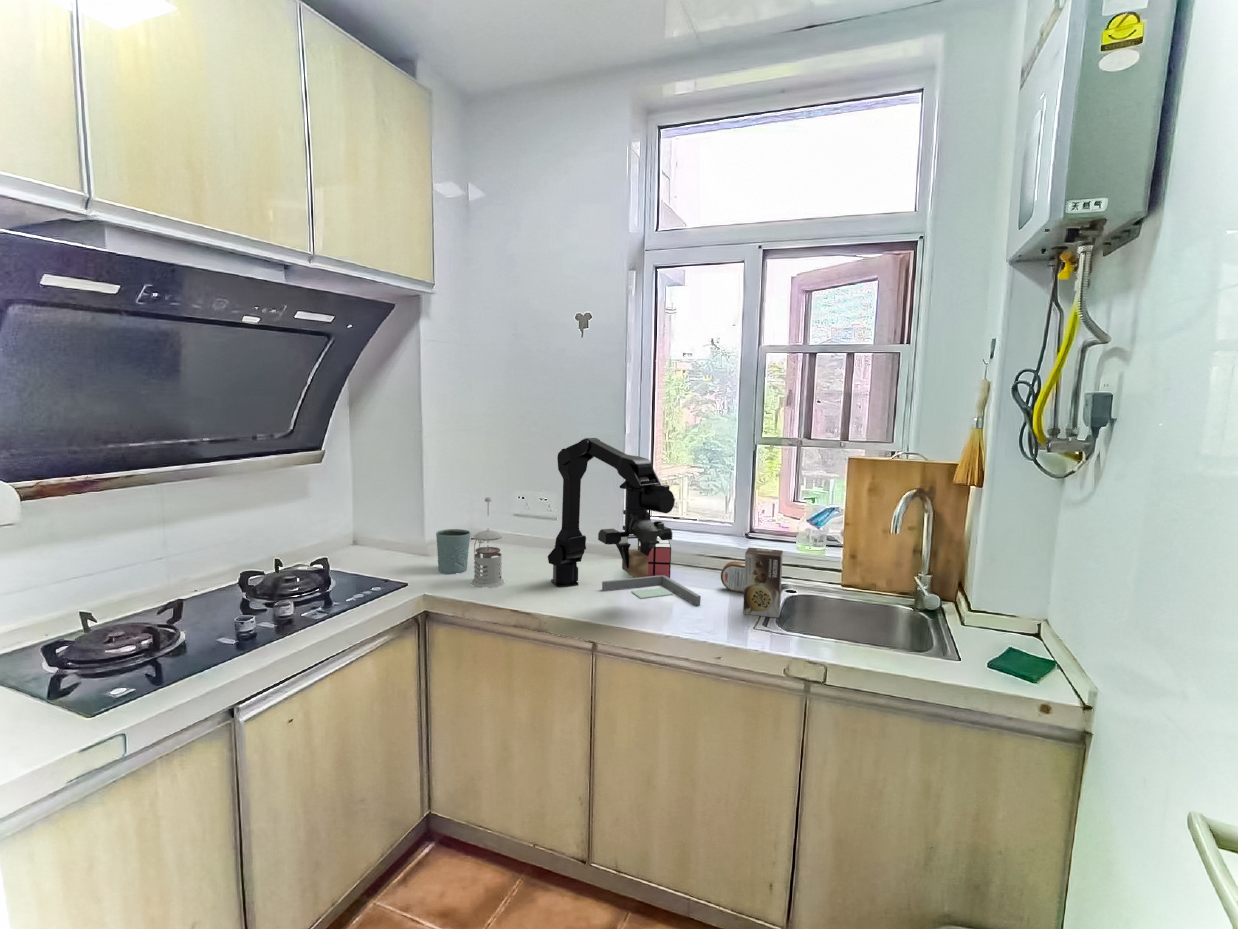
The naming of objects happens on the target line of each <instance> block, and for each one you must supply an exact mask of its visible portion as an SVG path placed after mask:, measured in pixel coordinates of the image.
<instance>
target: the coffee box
mask: <svg viewBox="0 0 1238 929" xmlns="http://www.w3.org/2000/svg"><path fill="white" fill-rule="evenodd" d="M783 552H784V551H783V550H780V549H769V548H758V547H748V548H747V549H746V551H745V553H744V563H745V578H744V593H743V605H742V606H743V610H742V614H745V615H753V616H760V617H768V618H769V617H770V618H776V619H777V618H778V619H779V618H780V614H781V599H782V597H781V596H782V579H783V578H782V575H783V574H782V573H783Z"/></svg>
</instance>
